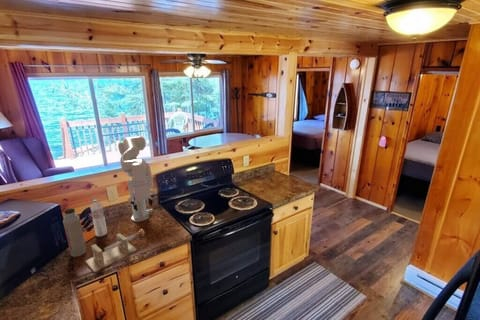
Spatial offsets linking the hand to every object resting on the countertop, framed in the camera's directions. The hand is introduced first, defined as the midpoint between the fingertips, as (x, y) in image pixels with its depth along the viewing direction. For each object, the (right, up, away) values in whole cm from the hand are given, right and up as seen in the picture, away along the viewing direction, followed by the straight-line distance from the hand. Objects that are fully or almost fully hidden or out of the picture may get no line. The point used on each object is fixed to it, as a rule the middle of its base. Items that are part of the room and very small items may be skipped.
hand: (143, 207), depth 161 cm
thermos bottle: (-35, -25, -9) cm, 44 cm away
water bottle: (-31, -20, +9) cm, 38 cm away
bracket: (-14, -26, -12) cm, 32 cm away
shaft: (-8, -21, -7) cm, 23 cm away
